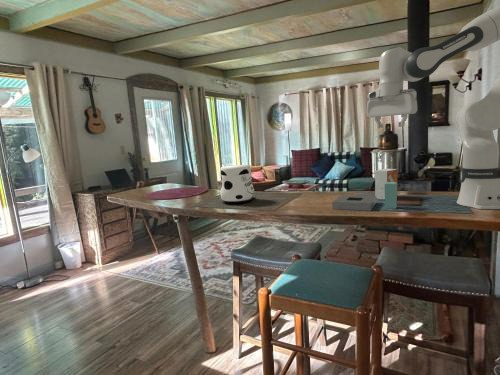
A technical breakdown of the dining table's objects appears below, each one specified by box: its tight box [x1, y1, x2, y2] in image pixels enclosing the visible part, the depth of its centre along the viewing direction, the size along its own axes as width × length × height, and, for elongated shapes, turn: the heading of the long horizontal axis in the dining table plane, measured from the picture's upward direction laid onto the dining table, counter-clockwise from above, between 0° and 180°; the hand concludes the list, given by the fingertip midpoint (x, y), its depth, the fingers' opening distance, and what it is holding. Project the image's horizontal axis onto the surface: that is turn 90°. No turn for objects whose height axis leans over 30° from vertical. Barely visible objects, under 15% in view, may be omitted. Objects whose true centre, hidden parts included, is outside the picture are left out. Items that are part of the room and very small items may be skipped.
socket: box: [331, 194, 378, 212], centre depth 136 cm, size 15×15×3 cm
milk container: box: [219, 164, 255, 204], centre depth 163 cm, size 17×17×18 cm
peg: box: [384, 181, 398, 210], centre depth 128 cm, size 4×4×10 cm
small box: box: [374, 168, 399, 200], centre depth 146 cm, size 8×6×13 cm
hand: (390, 127), depth 129 cm, fingers open, 8 cm apart
